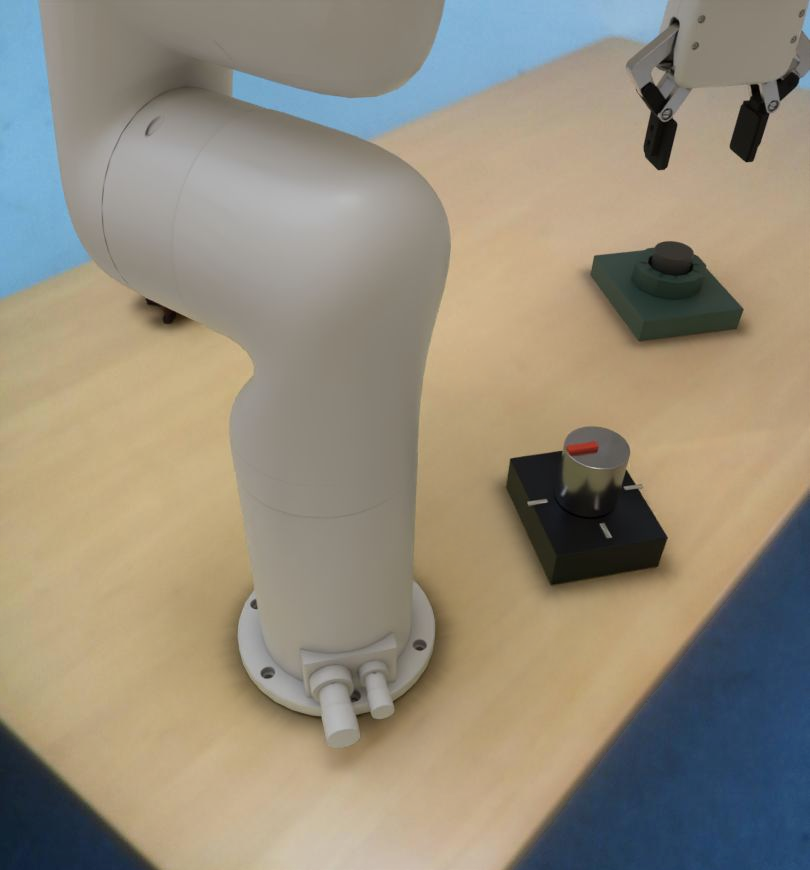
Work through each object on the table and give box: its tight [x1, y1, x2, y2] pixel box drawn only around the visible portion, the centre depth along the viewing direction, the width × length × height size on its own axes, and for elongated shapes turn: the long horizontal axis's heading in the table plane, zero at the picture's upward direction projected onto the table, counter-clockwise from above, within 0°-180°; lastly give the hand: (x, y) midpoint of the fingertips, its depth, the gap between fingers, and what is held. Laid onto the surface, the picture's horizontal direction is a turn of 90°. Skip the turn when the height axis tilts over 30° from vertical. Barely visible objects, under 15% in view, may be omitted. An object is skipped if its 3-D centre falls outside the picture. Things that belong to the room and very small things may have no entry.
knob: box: [555, 425, 631, 517], centre depth 60 cm, size 4×4×5 cm
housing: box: [590, 246, 744, 342], centre depth 83 cm, size 12×10×4 cm
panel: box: [505, 450, 669, 586], centre depth 63 cm, size 10×9×3 cm
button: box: [651, 240, 695, 276], centre depth 82 cm, size 4×4×2 cm
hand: (698, 158), depth 75 cm, fingers open, 7 cm apart
